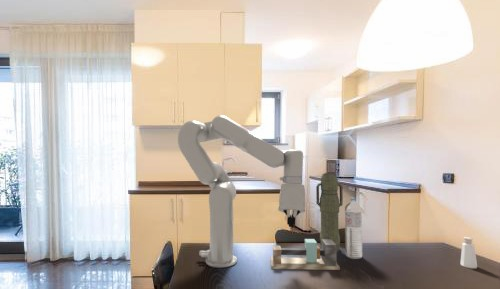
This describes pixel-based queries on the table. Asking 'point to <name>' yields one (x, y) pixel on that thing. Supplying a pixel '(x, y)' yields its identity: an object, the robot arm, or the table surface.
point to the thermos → (329, 207)
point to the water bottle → (353, 230)
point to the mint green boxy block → (311, 250)
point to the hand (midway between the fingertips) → (291, 226)
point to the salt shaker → (468, 254)
